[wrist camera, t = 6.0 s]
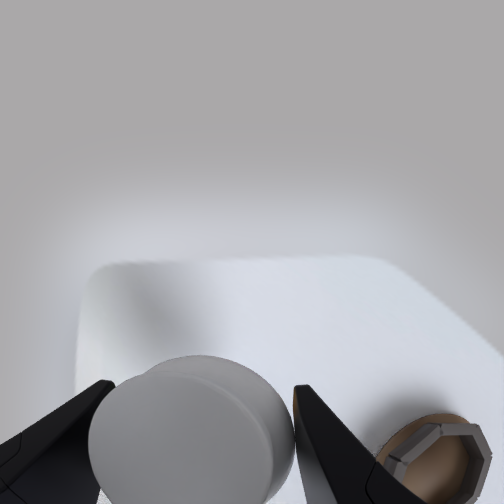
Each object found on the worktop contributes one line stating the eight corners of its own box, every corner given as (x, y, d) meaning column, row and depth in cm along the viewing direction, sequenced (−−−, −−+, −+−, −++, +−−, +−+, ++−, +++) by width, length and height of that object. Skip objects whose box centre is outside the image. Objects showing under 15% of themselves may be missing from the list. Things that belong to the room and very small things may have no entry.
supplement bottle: (188, 360, 15) (87, 309, 6) (292, 379, 14) (332, 360, 5) (168, 454, 13) (53, 507, 4) (272, 477, 12) (278, 582, 3)
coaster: (395, 550, 11) (407, 563, 9) (339, 473, 15) (349, 483, 13) (489, 469, 13) (508, 472, 11) (447, 387, 17) (467, 384, 15)
